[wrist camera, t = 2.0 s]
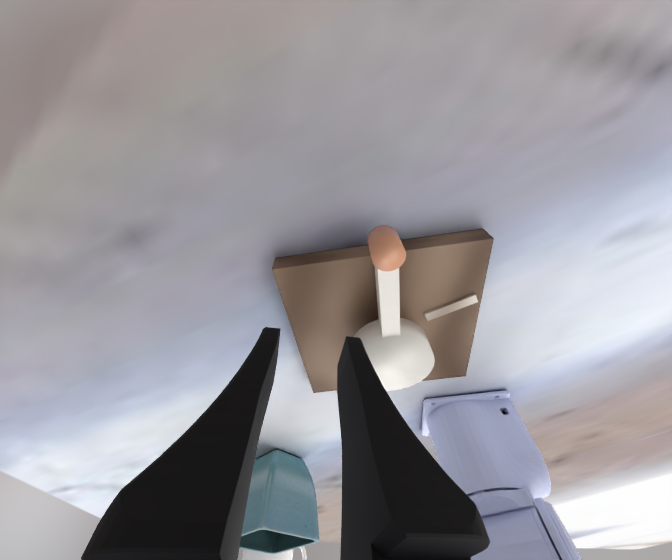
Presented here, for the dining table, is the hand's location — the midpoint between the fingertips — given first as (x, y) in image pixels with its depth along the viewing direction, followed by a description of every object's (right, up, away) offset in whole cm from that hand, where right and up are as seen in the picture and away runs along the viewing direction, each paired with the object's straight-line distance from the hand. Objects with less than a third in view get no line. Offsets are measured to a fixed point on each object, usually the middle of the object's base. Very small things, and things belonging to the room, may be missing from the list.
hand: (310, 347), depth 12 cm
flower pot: (-7, -23, +28) cm, 36 cm away
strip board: (+5, 0, +12) cm, 13 cm away
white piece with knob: (+5, +1, +7) cm, 9 cm away
